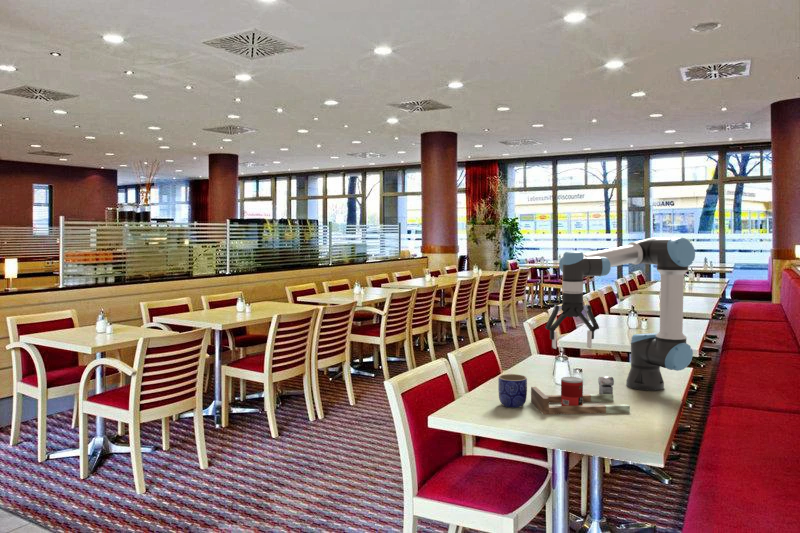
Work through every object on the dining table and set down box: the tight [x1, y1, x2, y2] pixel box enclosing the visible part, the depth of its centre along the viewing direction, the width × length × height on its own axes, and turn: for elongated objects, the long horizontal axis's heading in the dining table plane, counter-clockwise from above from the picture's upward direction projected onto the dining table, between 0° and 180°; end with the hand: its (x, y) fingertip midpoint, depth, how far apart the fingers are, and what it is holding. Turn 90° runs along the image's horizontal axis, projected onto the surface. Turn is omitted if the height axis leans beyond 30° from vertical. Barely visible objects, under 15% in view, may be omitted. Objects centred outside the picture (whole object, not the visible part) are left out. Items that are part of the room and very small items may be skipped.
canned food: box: [560, 376, 584, 406], centre depth 232 cm, size 8×8×11 cm
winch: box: [597, 376, 615, 396], centre depth 245 cm, size 5×4×9 cm
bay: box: [530, 386, 631, 416], centre depth 232 cm, size 32×17×6 cm, turn 93°
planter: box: [497, 373, 528, 409], centre depth 235 cm, size 11×11×11 cm
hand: (571, 348), depth 231 cm, fingers open, 13 cm apart
